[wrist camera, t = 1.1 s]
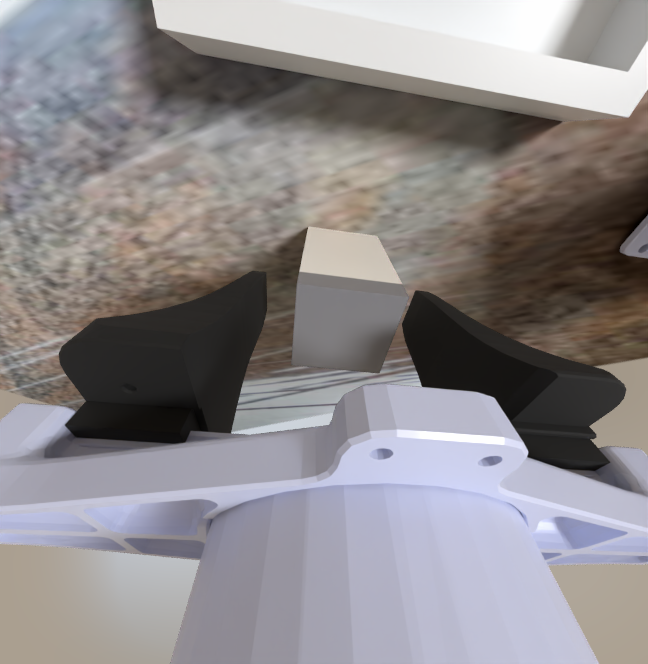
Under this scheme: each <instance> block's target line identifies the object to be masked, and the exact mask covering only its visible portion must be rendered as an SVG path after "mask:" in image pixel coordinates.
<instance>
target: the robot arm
mask: <svg viewBox="0 0 648 664" xmlns="http://www.w3.org/2000/svg"><path fill="white" fill-rule="evenodd" d="M620 253H623V254H625V255H628V256H635V257H642V258H648V215H647V216H646V218H645V219H644V220H643V221H642V222H641V223H640V224H639V226H638V227H637V228H636V229H635V230H634V231H633V232H632V234H631V235H630V236H629V237H628V238H627V239H626V240H625V242H624V243H623V244H622V245H621V247H620ZM266 311H267V289H266V272H258V271H252V272H249V273H248V274H246V275H244V276H243V277H241V278H239V279H237V280H236V281H234V282H232V283H230V284H229V285H227V286H225V287H223V288H221V289H219V290H217V291H215V292H213V293H211V294H208V295H206V296H204V297H201V298H198V299H196V300H193V301H190V302H187V303H183V304H179V305H176V306H172V307H169V308H165V309H160V310H155V311H150V312H145V313H139V314H133V315H125V316H116V317H108V318H98V319H96V320H94V321H93V322H92V323H91V324H89V325H88V326H87V327H86V328H84V329H83V330H82V331H81V332H79V333H78V334H77V335H76V336H74V337H73V338H72V339H71V340H69V341H68V342H67V343H66V344H64V345H63V346H62V348H61V350H60V352H59V360H60V364H61V366H62V368H63V370H64V372H65V374H66V375H67V376H68V377H69V379H70V380H71V381H72V383H73V384H74V385H75V387H76V388H77V389H78V391H79V392H80V393H81V395H82V396H83V397H84V399H85V400H86V402H85V403H84V404H83V405H82V406H81V408H80V409H79V410H78V411H76V410H74V409H72V408H70V407H66V406H59V405H46V404H45V405H44V404H32V403H21V404H18V405H17V406H16V407H15V408H14V409H13V410H12V411H10V412H9V413H8V414H7V415H6V416H5V417H3V418H2V419H1V420H0V544H17V545H18V544H19V545H37V546H52V547H67V548H78V549H91V550H101V551H111V552H122V553H131V554H132V553H133V554H142V555H153V556H162V557H172V558H183V559H192V560H200V563H199V566H198V570H197V573H196V577H195V580H194V583H193V587H192V591H191V594H190V597H189V600H188V604H187V607H186V611H185V614H184V617H183V621H182V624H181V628H180V631H179V634H178V638H177V641H176V645H175V648H174V651H173V655H172V658H171V662H170V664H599V663H598V661H597V659H596V657H595V655H594V653H593V651H592V649H591V647H590V645H589V644H588V642H587V640H586V638H585V636H584V634H583V632H582V630H581V628H580V626H579V624H578V623H577V621H576V619H575V617H574V615H573V613H572V611H571V609H570V607H569V605H568V603H567V601H566V599H565V598H564V596H563V594H562V592H561V590H560V588H559V586H558V584H557V582H556V580H555V578H554V577H553V575H552V573H551V571H550V569H549V567H548V565H576V564H648V456H647V455H646V454H645V453H644V452H643V451H642V450H641V449H638V448H629V447H615V446H606V447H602V448H597V447H596V445H595V444H594V443H593V442H592V441H591V440H590V439H594V438H596V434H595V432H593V430H592V429H591V428H590V427H589V426H590V425H591V424H593V423H594V422H596V421H597V420H599V419H600V418H602V417H603V416H605V415H606V414H607V413H609V412H610V411H612V410H613V409H614V408H615V407H617V406H618V405H619V404H620V402H621V401H622V400H623V399H624V396H625V392H626V388H625V386H624V384H623V383H622V382H621V381H620V380H618V379H617V378H616V377H615V376H614V375H612V374H611V373H609V372H607V371H605V370H603V369H599V368H596V367H592V366H589V365H585V364H582V363H578V362H575V361H571V360H567V359H564V358H561V357H558V356H555V355H552V354H549V353H546V352H543V351H541V350H538V349H535V348H532V347H530V346H527V345H525V344H522V343H520V342H518V341H515V340H513V339H511V338H508V337H506V336H504V335H502V334H500V333H498V332H496V331H494V330H492V329H490V328H488V327H486V326H484V325H482V324H480V323H479V322H477V321H475V320H474V319H472V318H470V317H469V316H467V315H465V314H464V313H462V312H460V311H459V310H457V309H456V308H454V307H453V306H451V305H450V304H448V303H447V302H445V301H443V300H442V299H440V298H439V297H437V296H435V295H433V294H431V293H429V292H424V291H415V293H414V296H413V298H412V301H411V303H410V306H409V308H408V311H407V313H406V316H405V318H404V321H403V323H402V327H403V333H404V337H405V341H406V344H407V347H408V350H409V352H410V355H411V357H412V360H413V363H414V365H415V368H416V370H417V373H418V376H419V379H420V382H421V385H422V387H417V386H406V385H394V384H373V385H363V386H361V387H359V388H357V389H355V390H352V391H350V392H348V393H346V394H345V395H344V396H343V397H342V398H341V400H340V401H339V402H338V404H337V405H336V407H335V410H334V413H333V418H332V420H331V422H330V424H329V425H326V426H318V427H310V428H302V429H293V430H285V431H277V432H269V433H261V434H252V435H245V434H231V430H232V425H233V421H234V417H235V412H236V408H237V404H238V400H239V396H240V392H241V388H242V384H243V380H244V376H245V372H246V369H247V366H248V363H249V360H250V357H251V355H252V352H253V350H254V347H255V345H256V342H257V340H258V337H259V335H260V332H261V330H262V327H263V324H264V320H265V315H266Z"/></svg>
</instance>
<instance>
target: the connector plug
mask: <svg viewBox="0 0 648 664" xmlns="http://www.w3.org/2000/svg"><path fill="white" fill-rule="evenodd" d="M408 299H409V296H408V294H407V292H406V290H405V288H404V287H403V285H402V283H401V281H400V279H399V277H398V275H397V273H396V271H395V269H394V267H393V265H392V264H391V262H390V260H389V258H388V256H387V254H386V252H385V250H384V248H383V246H382V244H381V242H380V241H379V239H378V237H377V236H373V235H366V234H359V233H351V232H344V231H337V230H330V229H322V228H315V227H308V231H307V236H306V241H305V246H304V251H303V256H302V261H301V266H300V271H299V276H298V281H297V290H296V304H295V319H294V333H293V347H292V362H291V365H297V366H307V367H318V368H328V369H339V370H349V371H360V372H370V373H380V370H381V368H382V365H383V363H384V360H385V357H386V355H387V352H388V350H389V347H390V345H391V342H392V340H393V337H394V335H395V332H396V330H397V327H398V324H399V322H400V319H401V317H402V314H403V312H404V309H405V307H406V304H407V302H408Z"/></svg>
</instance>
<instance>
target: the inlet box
mask: <svg viewBox="0 0 648 664" xmlns="http://www.w3.org/2000/svg"><path fill="white" fill-rule="evenodd" d="M152 2H153V7H154V13H155V18H156V24H157V28H158V29H160V30H161V31H163V32H164V33H166V34H167V35H169V36H171V37H172V38H174V39H175V40H177V41H178V42H180V43H181V44H183V45H184V46H186V47H188V48H189V49H191V50H192V51H194V52H195V53H197V54H201V55H206V56H211V57H217V58H222V59H228V60H233V61H238V62H244V63H249V64H255V65H260V66H266V67H271V68H276V69H282V70H287V71H293V72H298V73H303V74H309V75H314V76H320V77H325V78H331V79H336V80H341V81H347V82H352V83H358V84H363V85H369V86H374V87H379V88H385V89H390V90H396V91H401V92H406V93H412V94H417V95H423V96H428V97H434V98H439V99H444V100H450V101H455V102H461V103H466V104H471V105H477V106H482V107H488V108H493V109H499V110H504V111H509V112H515V113H520V114H526V115H531V116H537V117H542V118H547V119H553V120H558V121H564V122H566V121H582V120H597V119H612V118H628V117H629V116H630V114H631V113H632V112H633V110H634V109H635V107H636V106H637V104H638V103H639V101H640V100H641V98H642V97H643V95H644V94H645V92H646V91H647V89H648V0H152Z"/></svg>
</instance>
